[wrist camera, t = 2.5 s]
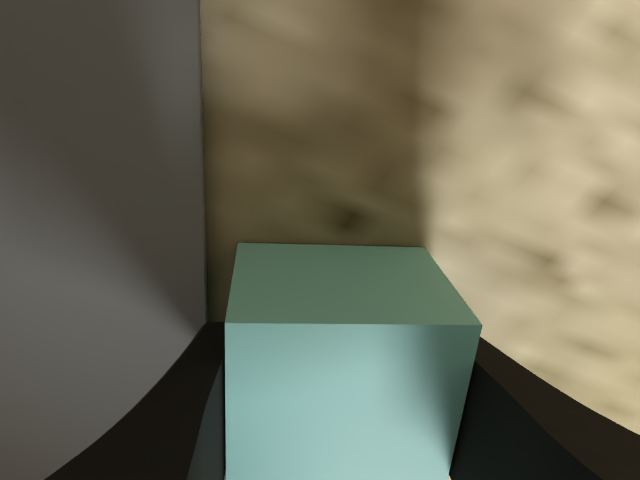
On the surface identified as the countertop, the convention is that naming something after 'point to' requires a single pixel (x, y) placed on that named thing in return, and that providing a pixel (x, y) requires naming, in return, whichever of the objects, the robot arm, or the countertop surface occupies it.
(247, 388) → the teal block
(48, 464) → the mat
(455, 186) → the countertop surface
